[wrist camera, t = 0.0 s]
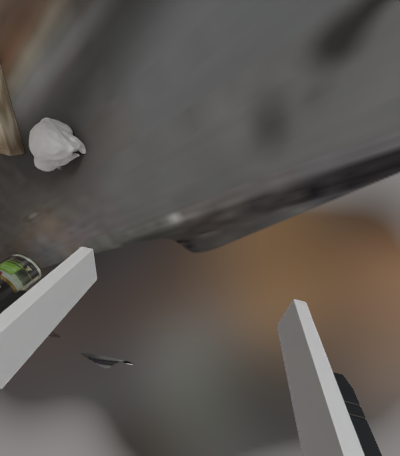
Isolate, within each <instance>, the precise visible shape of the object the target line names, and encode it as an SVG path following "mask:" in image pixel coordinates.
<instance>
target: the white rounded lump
mask: <svg viewBox="0 0 400 456" xmlns="http://www.w3.org/2000/svg"><path fill="white" fill-rule="evenodd" d="M29 148H30V151H31V153H32V154H33V156H34V164H35V166H36V167H37V168H38V169H40V170H42V171H47V172H48V171H53V170H54V169H56V167H57V169H59V168H60V167H61V166H63V165H66V164H68V163H69V162H70V161H71V160H73V159H75V158H76V157H79V156H80V155H79V154H77V153H73V152H75V151H78V150H79V151H80V152H81V153H82V154H85V153H86V149H85V146H84V144H83V143H82V142H81V141H80V140H79V139H78V138H77V137H75V136H73V132H72V130H71V128H70V127H69V126H68V125H67V124H64V123H62V122H60V121H58V120H55V119H50V118H43V119H42V120H41V121H40V122H39V123H38V124H36V125H35V126H34V127H33V128H32V130H31V131H30V136H29ZM59 166H60V167H59ZM59 170H60V169H59Z"/></svg>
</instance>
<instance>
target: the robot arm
mask: <svg viewBox="0 0 400 456" xmlns="http://www.w3.org/2000/svg"><path fill="white" fill-rule="evenodd" d="M96 280H97V274H96V267H95V260H94V253H93V249H90V248H86V247H81V248H80V249H78V250H77V251H76V252H75V253H74V254H72V255H71V256H70V257H69V258H67V259H66V260H65V261H64V262H63V263H61V264H60V265H59V266H58V267H57V268H55V269H54V270H53V271H52V272H50V273H49V274H48V275H47V276H46V277H44V278H43V279H42V280H41V281H39V283H37V284H36V285H35V286H33V287H32V288H31V289H30V290H29V291H23V290H20V291H18V292H16V293H14V294H12V295H10V296H8V297H6V298H5V299H4V300H2V301H1V302H0V389H2V388H3V387H4V386H5V385H6V383H7V382H8V381H9V380H10V379H11V377H12V376H13V375H14V374H15V373H16V372H17V371H18V370H19V369H20V367H21V366H22V365H23V364H24V363H25V361H26V360H27V359H28V358H29V357H30V356H31V355H32V354H33V352H34V351H35V350H36V349H37V348H38V347H39V346H40V344H41V343H42V342H43V341H44V340H45V339H46V337H47V336H48V335H49V334H50V333H51V332H52V331H53V329H54V328H55V327H56V326H57V325H58V324H59V323H60V321H61V320H62V319H63V318H64V317H65V316H66V315H67V313H68V312H69V311H70V310H71V309H72V308H73V306H74V305H75V304H76V303H77V302H78V301H79V299H80V298H81V297H82V296H83V295H84V294H85V293H86V292H87V290H88V289H89V288H90V287H91V286H92V285H93V283H94V282H95V281H96ZM277 329H278V334H279V338H280V344H281V349H282V354H283V359H284V363H285V368H286V374H287V379H288V384H289V389H290V394H291V399H292V404H293V409H294V414H295V419H296V424H297V429H298V435H299V440H300V444H301V450H302V455H303V456H382V455H381V453H380V450H379V448H378V446H377V444H376V441H375V439H374V436H373V434H372V432H371V430H370V427H369V425H368V423H367V421H366V420H365V416H364V413H363V411H362V409H361V407H360V406H359V402H358V400H357V397H356V395H355V393H354V390H353V388H352V387H351V386H350V384H349V383H348V381H347V380H346V379H345V377H344V376H343V375H341V374H337V373H334V372H332V369H331V366H330V364H329V361H328V359H327V356H326V353H325V351H324V348H323V345H322V343H321V340H320V338H319V335H318V333H317V330H316V327H315V325H314V322H313V320H312V317H311V314H310V312H309V309H308V306H307V304H306V302H303V301H299V300H295V299H293V301H292V302H291V304H290V305H289V307H288V309H287V310H286V312H285V313H284V315H283V317H282V318H281V320H280V321H279V323H278V324H277Z"/></svg>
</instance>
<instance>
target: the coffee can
mask: <svg viewBox="0 0 400 456" xmlns="http://www.w3.org/2000/svg"><path fill="white" fill-rule="evenodd" d="M40 277H41V271H40V268H39V267H38V266H37V264H36V263H35V262H33V261H32V260H31V259H29V258H28V257H26V256H23V255H20V254H14V255H11V256H10V257H9V258H7V259H5V260H4V261H2V262H0V302H1V301H2V300H4V299H5V298H6V297H8V296H10V295H12V294H14V293H16V292H18V291H20V290H23V291H24V290H25V289H27V288H28V287H29V286H30V285H31V284H33V283H34V282H35V281H36V280H38V279H39V278H40Z"/></svg>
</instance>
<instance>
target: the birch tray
mask: <svg viewBox="0 0 400 456" xmlns="http://www.w3.org/2000/svg"><path fill="white" fill-rule="evenodd" d="M0 154H4V155H8V156H15V155H21V154H25V151H24V148H23V144H22V140H21V137H20V133H19V130H18V126H17V122H16V119H15V115H14V111H13V108H12V104H11V101H10V97H9V93H8V90H7V86H6V82H5V79H4V75H3V72H2V68H1V64H0Z"/></svg>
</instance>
